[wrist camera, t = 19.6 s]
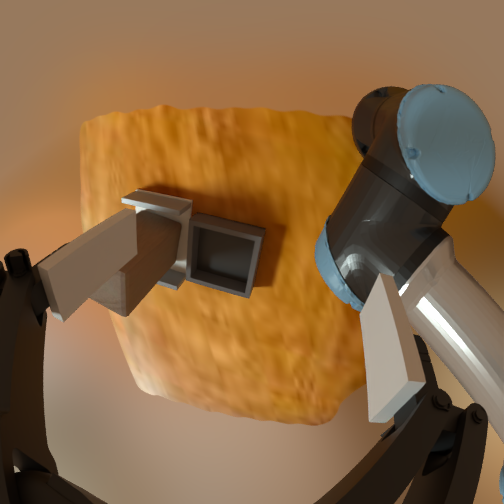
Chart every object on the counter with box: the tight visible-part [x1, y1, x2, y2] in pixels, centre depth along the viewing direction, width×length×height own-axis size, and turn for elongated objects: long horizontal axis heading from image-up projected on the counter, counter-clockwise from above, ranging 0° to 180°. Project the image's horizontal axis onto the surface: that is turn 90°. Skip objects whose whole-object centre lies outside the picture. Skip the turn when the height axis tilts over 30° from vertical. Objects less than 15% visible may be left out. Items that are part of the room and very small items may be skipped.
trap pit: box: [186, 212, 266, 298], centre depth 53 cm, size 14×14×4 cm
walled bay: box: [122, 189, 193, 290], centre depth 54 cm, size 13×18×6 cm
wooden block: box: [89, 210, 182, 317], centre depth 47 cm, size 10×10×20 cm
